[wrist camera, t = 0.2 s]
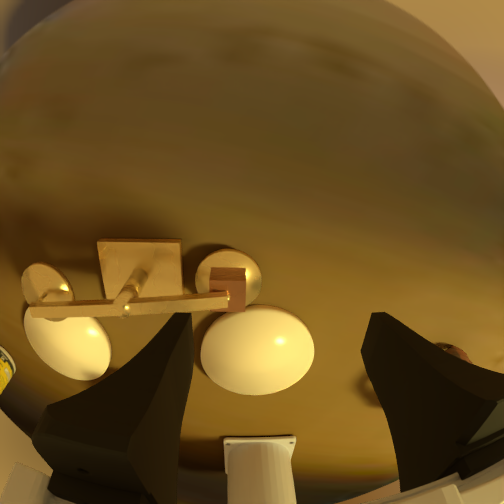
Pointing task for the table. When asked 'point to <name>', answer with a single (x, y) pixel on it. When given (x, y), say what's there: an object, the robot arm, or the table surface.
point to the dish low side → (257, 350)
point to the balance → (145, 282)
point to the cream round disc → (70, 345)
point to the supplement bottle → (5, 368)
